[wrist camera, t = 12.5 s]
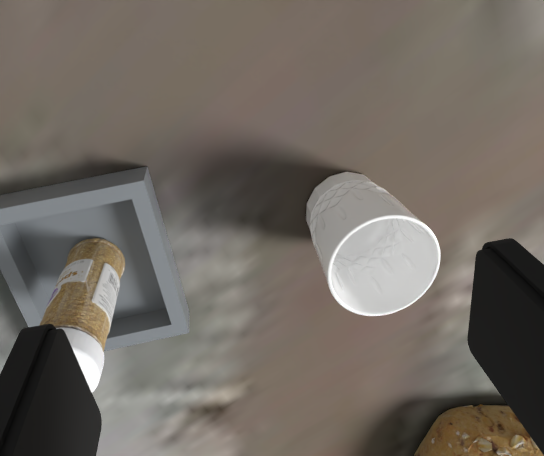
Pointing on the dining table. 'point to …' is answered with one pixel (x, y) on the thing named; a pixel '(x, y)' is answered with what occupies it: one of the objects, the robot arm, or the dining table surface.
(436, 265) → the white cup
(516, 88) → the dining table surface
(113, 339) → the tray
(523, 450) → the bread
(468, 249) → the dining table surface
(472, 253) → the dining table surface
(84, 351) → the sprinkles bottle
